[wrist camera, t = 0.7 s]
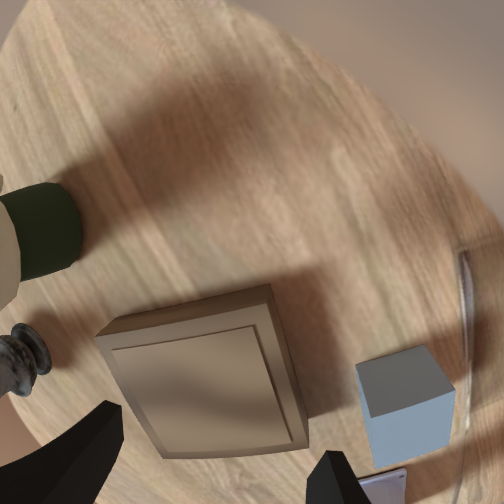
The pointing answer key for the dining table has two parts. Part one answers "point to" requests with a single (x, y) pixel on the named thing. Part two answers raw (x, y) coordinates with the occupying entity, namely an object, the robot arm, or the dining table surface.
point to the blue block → (405, 405)
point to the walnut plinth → (209, 377)
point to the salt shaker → (22, 360)
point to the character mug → (35, 235)
